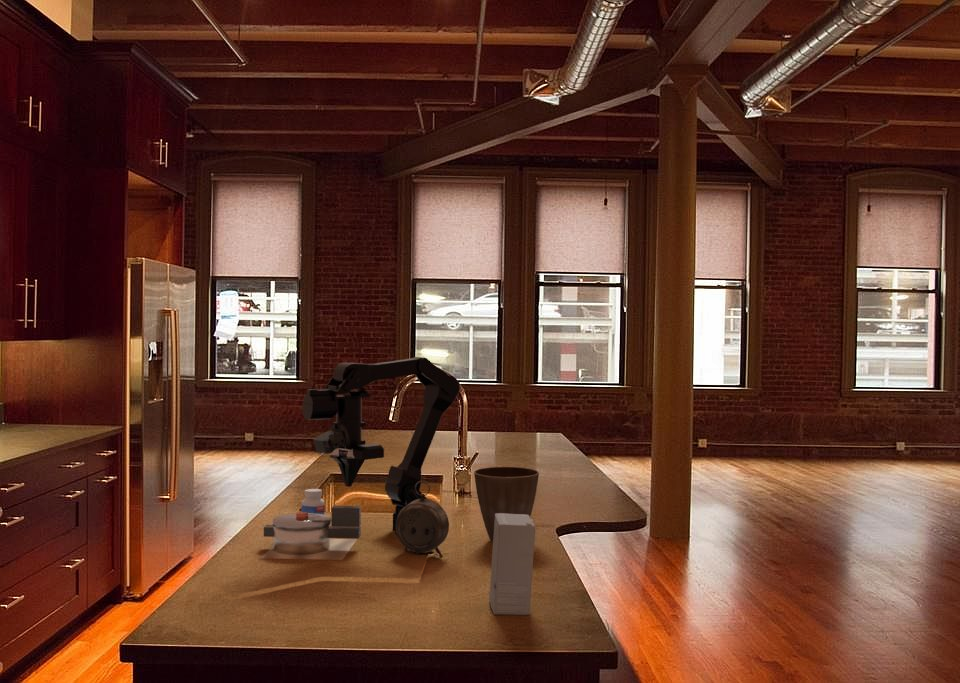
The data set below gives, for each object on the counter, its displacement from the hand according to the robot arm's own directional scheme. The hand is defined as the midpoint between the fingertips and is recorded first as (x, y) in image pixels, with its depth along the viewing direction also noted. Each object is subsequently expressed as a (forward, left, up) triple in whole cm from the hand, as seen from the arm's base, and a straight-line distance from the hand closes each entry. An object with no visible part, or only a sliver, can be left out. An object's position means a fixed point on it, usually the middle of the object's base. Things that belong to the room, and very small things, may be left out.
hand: (348, 486), depth 202 cm
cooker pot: (+6, +11, -12) cm, 17 cm away
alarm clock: (-18, +13, -13) cm, 25 cm away
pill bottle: (+10, -9, -13) cm, 19 cm away
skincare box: (-37, +47, -13) cm, 61 cm away
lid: (+5, +11, -7) cm, 13 cm away
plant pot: (-36, -3, -13) cm, 38 cm away
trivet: (+6, +11, -12) cm, 17 cm away
